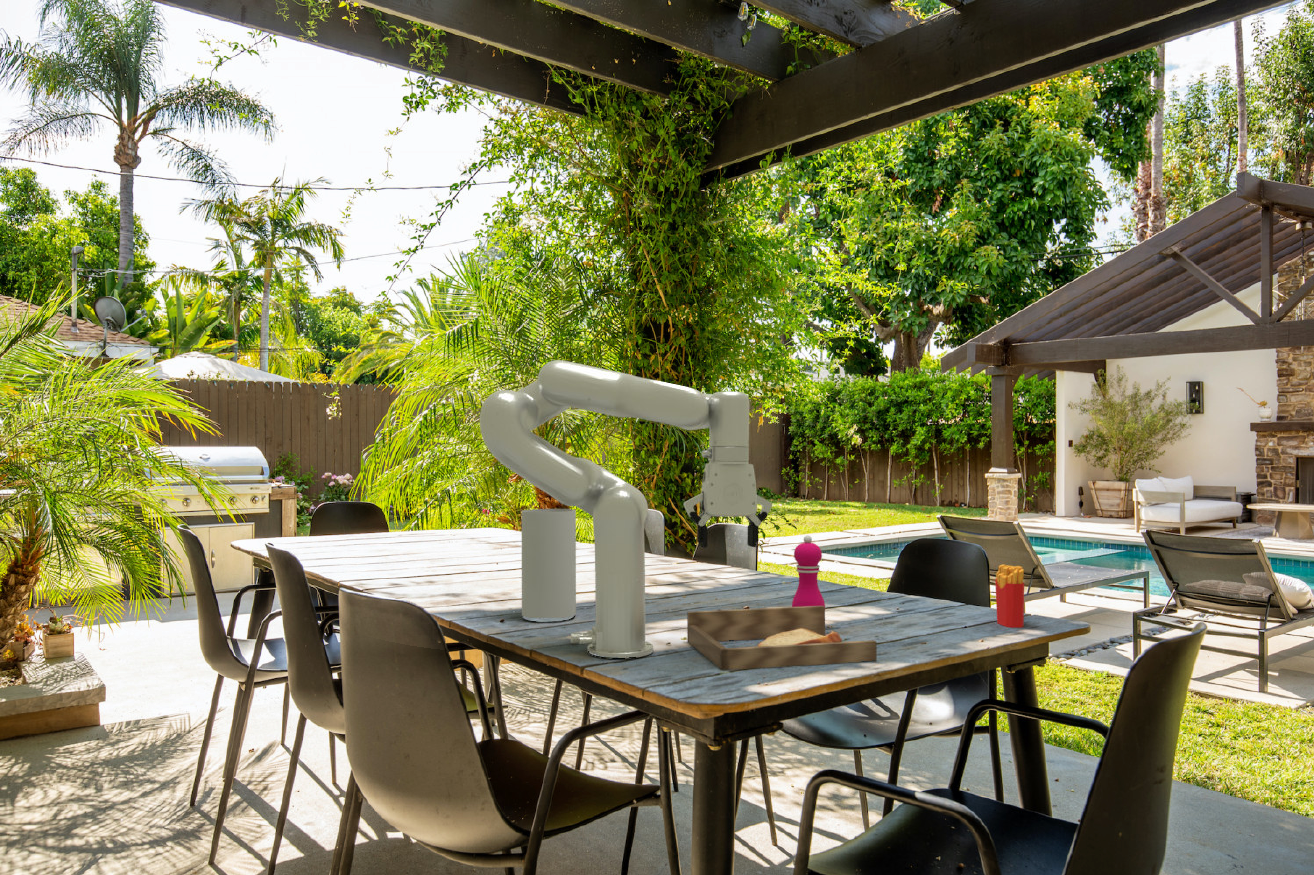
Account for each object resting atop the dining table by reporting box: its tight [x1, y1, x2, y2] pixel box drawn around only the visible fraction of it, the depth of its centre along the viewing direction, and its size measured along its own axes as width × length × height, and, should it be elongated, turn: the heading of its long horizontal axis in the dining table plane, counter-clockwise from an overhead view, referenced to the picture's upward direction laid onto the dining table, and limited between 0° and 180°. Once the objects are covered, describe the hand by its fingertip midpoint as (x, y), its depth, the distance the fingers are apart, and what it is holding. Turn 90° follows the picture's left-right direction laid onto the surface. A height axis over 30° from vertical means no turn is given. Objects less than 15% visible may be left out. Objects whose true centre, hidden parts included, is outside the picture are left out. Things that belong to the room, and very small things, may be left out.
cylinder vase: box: [521, 508, 577, 619], centre depth 203 cm, size 12×12×25 cm
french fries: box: [994, 563, 1025, 629], centre depth 192 cm, size 9×4×13 cm, turn 2°
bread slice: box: [756, 628, 843, 647], centre depth 168 cm, size 18×18×4 cm
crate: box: [686, 605, 878, 671], centre depth 167 cm, size 29×24×6 cm
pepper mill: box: [791, 535, 826, 607], centre depth 190 cm, size 7×7×20 cm
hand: (727, 546), depth 166 cm, fingers open, 9 cm apart
